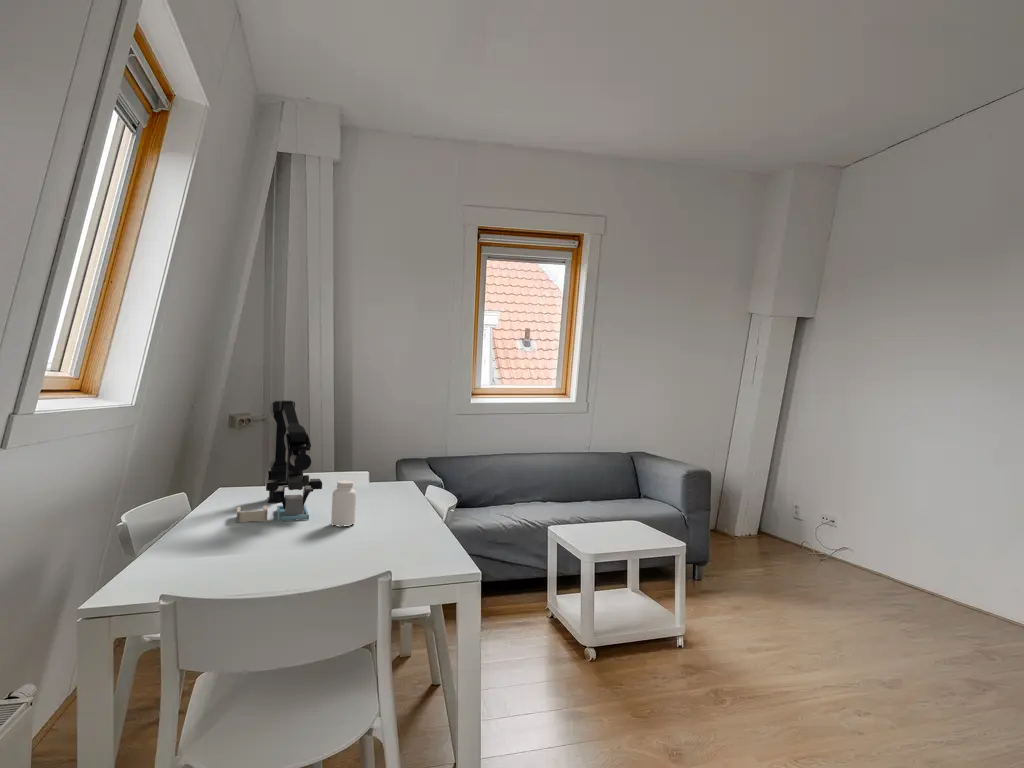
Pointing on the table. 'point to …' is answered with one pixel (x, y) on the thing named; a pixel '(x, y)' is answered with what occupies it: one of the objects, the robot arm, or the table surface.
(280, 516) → the tray
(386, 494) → the table surface
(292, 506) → the grey rectangular block
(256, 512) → the bay
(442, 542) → the table surface
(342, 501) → the pill bottle
